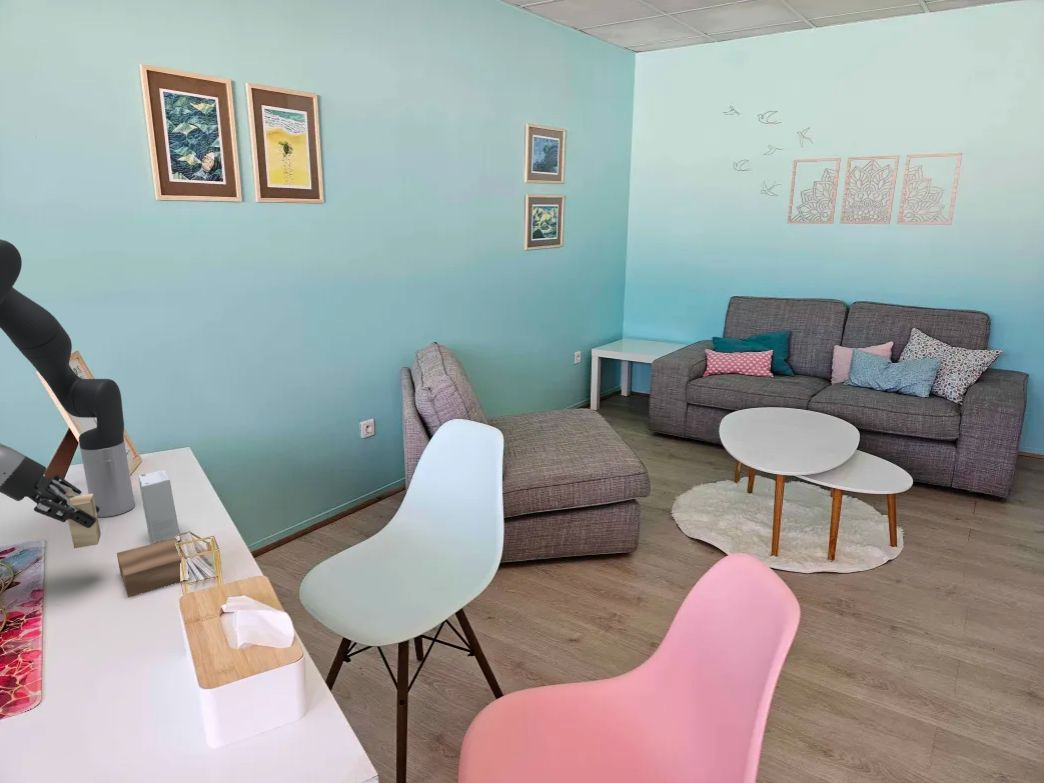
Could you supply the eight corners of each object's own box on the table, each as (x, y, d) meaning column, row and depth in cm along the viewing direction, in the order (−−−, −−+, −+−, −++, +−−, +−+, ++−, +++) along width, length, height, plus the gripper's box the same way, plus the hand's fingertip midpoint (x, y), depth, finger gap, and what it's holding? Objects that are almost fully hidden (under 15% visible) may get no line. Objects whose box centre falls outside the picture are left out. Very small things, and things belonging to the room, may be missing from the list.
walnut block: (120, 575, 141) (116, 553, 140) (179, 558, 147) (175, 537, 146) (128, 598, 132) (124, 575, 131) (190, 580, 139) (186, 558, 137)
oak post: (77, 538, 138) (69, 497, 135) (100, 534, 140) (93, 493, 137) (74, 548, 134) (65, 506, 131) (97, 544, 136) (89, 502, 133)
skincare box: (181, 541, 154) (172, 479, 150) (151, 548, 151) (141, 485, 147) (176, 527, 161) (167, 468, 157) (147, 534, 158) (137, 473, 154)
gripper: (14, 469, 122) (103, 518, 130) (31, 443, 135) (112, 490, 143) (-16, 502, 122) (76, 549, 130) (4, 473, 134) (87, 517, 142)
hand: (94, 518), depth 136 cm, fingers closed on oak post, 4 cm apart
